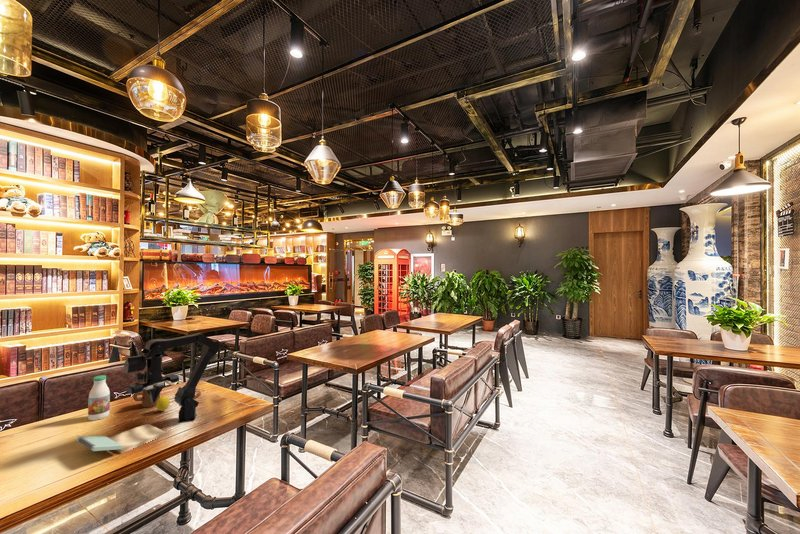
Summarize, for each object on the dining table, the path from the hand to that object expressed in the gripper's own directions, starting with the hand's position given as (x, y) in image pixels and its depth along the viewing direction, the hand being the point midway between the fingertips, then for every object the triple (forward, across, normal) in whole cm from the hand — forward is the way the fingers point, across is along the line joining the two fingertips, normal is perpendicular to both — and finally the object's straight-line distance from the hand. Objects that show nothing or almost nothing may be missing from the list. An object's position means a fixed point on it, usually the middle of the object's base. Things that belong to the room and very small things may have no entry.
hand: (153, 402), depth 144 cm
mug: (+13, -12, -32) cm, 37 cm away
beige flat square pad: (+13, +7, +2) cm, 15 cm away
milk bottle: (+13, +6, -38) cm, 41 cm away
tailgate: (+11, +15, +2) cm, 19 cm away
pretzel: (+14, -30, -26) cm, 42 cm away
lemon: (+13, -13, -18) cm, 26 cm away
